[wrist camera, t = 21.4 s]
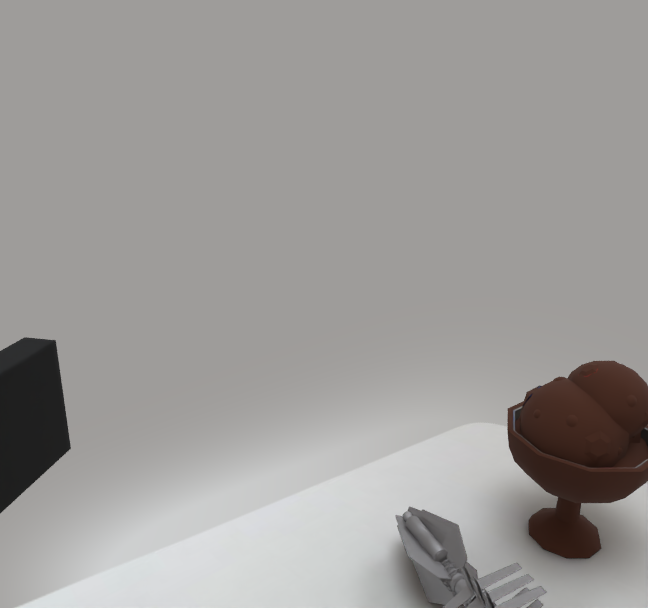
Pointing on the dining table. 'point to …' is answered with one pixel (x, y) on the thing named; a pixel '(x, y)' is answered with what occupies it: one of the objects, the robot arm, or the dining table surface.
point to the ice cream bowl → (581, 449)
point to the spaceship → (456, 566)
